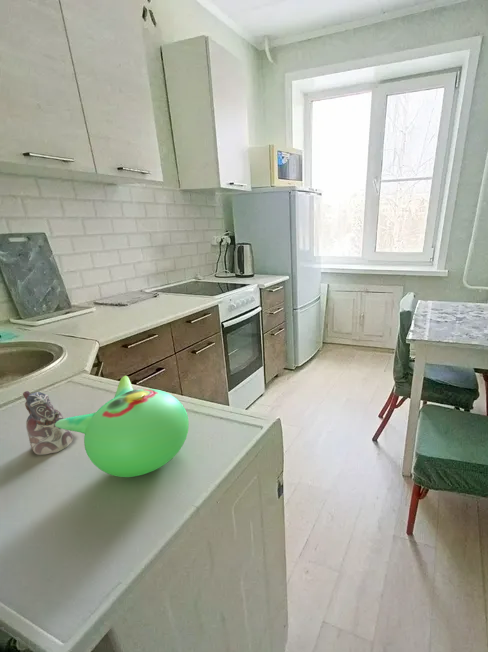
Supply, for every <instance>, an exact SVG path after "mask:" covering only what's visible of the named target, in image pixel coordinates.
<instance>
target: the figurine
mask: <svg viewBox="0 0 488 652" xmlns="http://www.w3.org/2000/svg"><path fill="white" fill-rule="evenodd" d="M22 396H23V398H24V399H25V403H24V406H25V408H26V410H27V412H28V414H29V415H28V417H27V419H26V421H25V428H26V432H27V437H28V441H29V446H30V448H31V450H32V451H33V453H34V454H36V455H38V456H42V455H48V454H49V455H50V454H52V453H53V454H54V453H58V452H60V451H62V450H65V449H66V448H67V447H69V445H70V444H71V443H72V442H73V440H74V436H73V434H72V433H71V432H72V431H70V430H65V429H61V428H58V427H56V426H55V423H56V422H57V421H59V420H61V419H64V416H63V414H62V412H60V411H59V410H58V409H55V407H54V405H53V403H52V402H51V400H50V397H49V395H48V394H45V393H43V392H40V391H35V392H32V393H31V392H30V391H29V390H25V391H23V392H22Z"/></svg>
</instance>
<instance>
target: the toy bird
mask: <svg viewBox="0 0 488 652" xmlns="http://www.w3.org/2000/svg"><path fill="white" fill-rule="evenodd" d="M133 387H134V386H133V385H132V382H131V380H130V378H129V376H127V375H124V376H122V377H121V378H120V380H119V383H118V385H117V388H116V390H115V391H116V392H115V394H114V397H113V398H111V399H109V400H108V401H107V402H105V403H104V404H103V405H102V406H100V407H99V408H98V409H97V410H96V411H95V412H91V413H87V414H86V413H85V414H80V415H75V416H69V417H65V418H63V419H61V420H59V421H57V422H56V423H55V426H56V427H58V428H61V429H65V430H70V432H74V433H75V432H76V433H81V434H84V438H83V443H84V444H83V445H84V450H85V453H86V455H87V457H88V459H89V460H90V461H91V463H92V464H93V465H94V466H95V467H96V468H98V469H99V470H101V471H102V472H104V473H106V474H107V475H111V476H115V477H118V478H119V477H120V478H131V477H132V478H133V477H139V476H143V475H146V474H150V473H152V472H154V471H156V470H158V469H160V468H162V467H163V466H165V465H166V464H167V463H169V462H170V461H171V460H173V458H174V457H175V456H176V455H178V453H179V452H180V450H181V449H182V448H183V445H184V444H185V441H186V439H187V437H188V433H189V427H190V425H189V424H190V423H189V416H188V412H187V410H186V408H185V406H184V405H183V403H182V402H181V401H180V400H179V399H178V398H177V397H175V396H174V395H172V394H171V393H170V392H166V391H164V390H161V389H156V388H155V389H154V388H141V389H140V388H139V389H134V388H133Z"/></svg>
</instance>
